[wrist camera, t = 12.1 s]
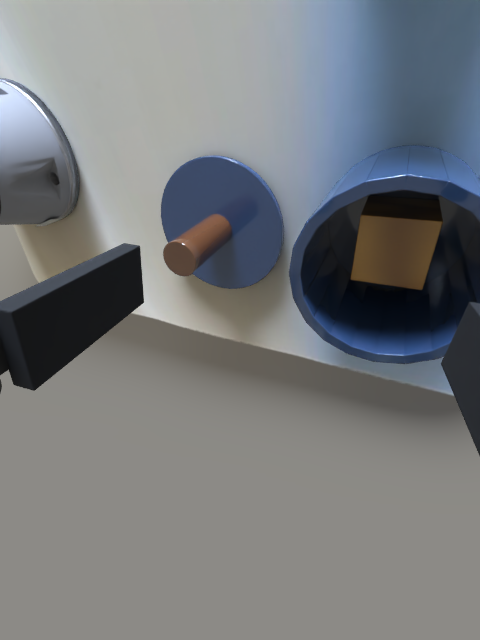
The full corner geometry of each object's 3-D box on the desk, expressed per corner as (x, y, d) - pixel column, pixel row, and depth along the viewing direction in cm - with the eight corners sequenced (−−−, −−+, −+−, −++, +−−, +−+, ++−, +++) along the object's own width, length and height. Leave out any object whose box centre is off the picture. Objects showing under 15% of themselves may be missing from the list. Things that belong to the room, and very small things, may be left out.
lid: (145, 195, 37) (87, 220, 31) (241, 123, 29) (190, 136, 23) (210, 298, 41) (171, 339, 35) (309, 259, 33) (283, 303, 27)
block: (358, 254, 31) (350, 280, 27) (368, 195, 28) (360, 214, 24) (421, 261, 29) (422, 290, 25) (439, 199, 26) (443, 221, 22)
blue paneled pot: (298, 193, 30) (257, 233, 23) (460, 107, 23) (482, 123, 15) (353, 307, 34) (334, 375, 27) (505, 266, 27) (541, 343, 19)
